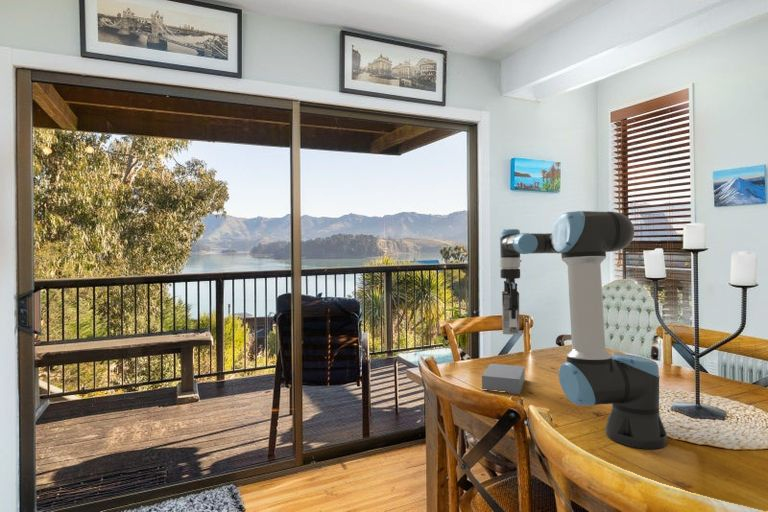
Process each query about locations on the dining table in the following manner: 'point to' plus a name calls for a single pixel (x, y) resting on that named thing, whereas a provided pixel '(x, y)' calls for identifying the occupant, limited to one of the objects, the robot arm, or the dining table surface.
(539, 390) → the dining table surface
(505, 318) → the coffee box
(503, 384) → the grey flat block
